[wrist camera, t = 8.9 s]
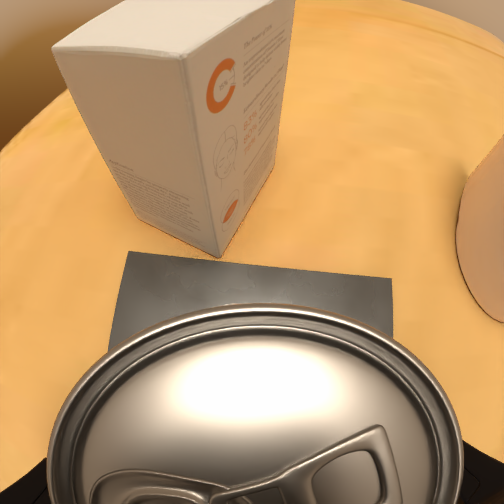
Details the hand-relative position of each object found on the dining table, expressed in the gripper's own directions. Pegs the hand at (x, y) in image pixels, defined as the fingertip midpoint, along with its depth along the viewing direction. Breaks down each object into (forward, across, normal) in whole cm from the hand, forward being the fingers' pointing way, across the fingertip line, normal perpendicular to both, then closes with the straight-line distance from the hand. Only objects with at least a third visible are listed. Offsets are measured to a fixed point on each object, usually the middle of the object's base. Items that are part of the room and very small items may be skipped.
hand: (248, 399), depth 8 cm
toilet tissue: (+10, -20, +1) cm, 23 cm away
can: (+4, 0, +6) cm, 7 cm away
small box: (+14, +2, -3) cm, 15 cm away
